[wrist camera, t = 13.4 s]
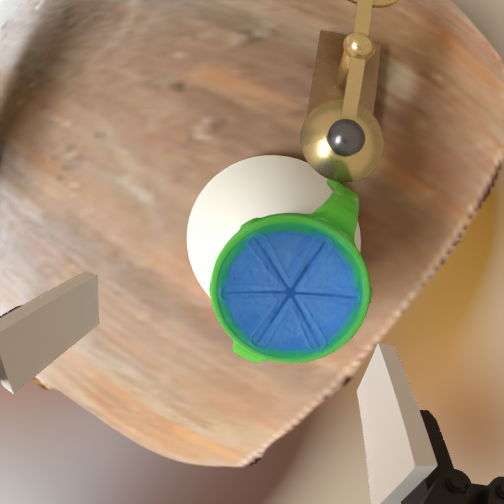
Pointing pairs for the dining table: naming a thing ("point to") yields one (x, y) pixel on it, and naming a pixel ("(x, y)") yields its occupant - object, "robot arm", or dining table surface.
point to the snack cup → (293, 282)
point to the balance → (345, 102)
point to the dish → (250, 204)
